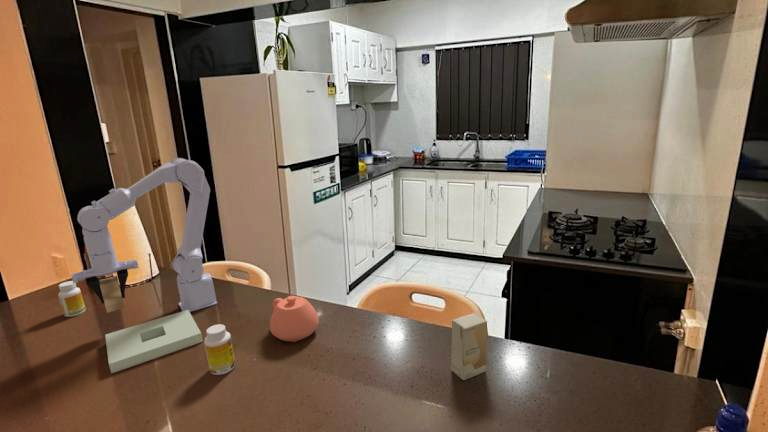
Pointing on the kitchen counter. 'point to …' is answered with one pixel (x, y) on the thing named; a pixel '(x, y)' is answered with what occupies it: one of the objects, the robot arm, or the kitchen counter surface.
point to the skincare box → (469, 345)
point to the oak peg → (111, 294)
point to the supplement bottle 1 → (71, 299)
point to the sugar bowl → (293, 319)
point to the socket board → (132, 351)
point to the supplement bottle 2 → (219, 350)
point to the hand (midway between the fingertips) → (113, 299)
